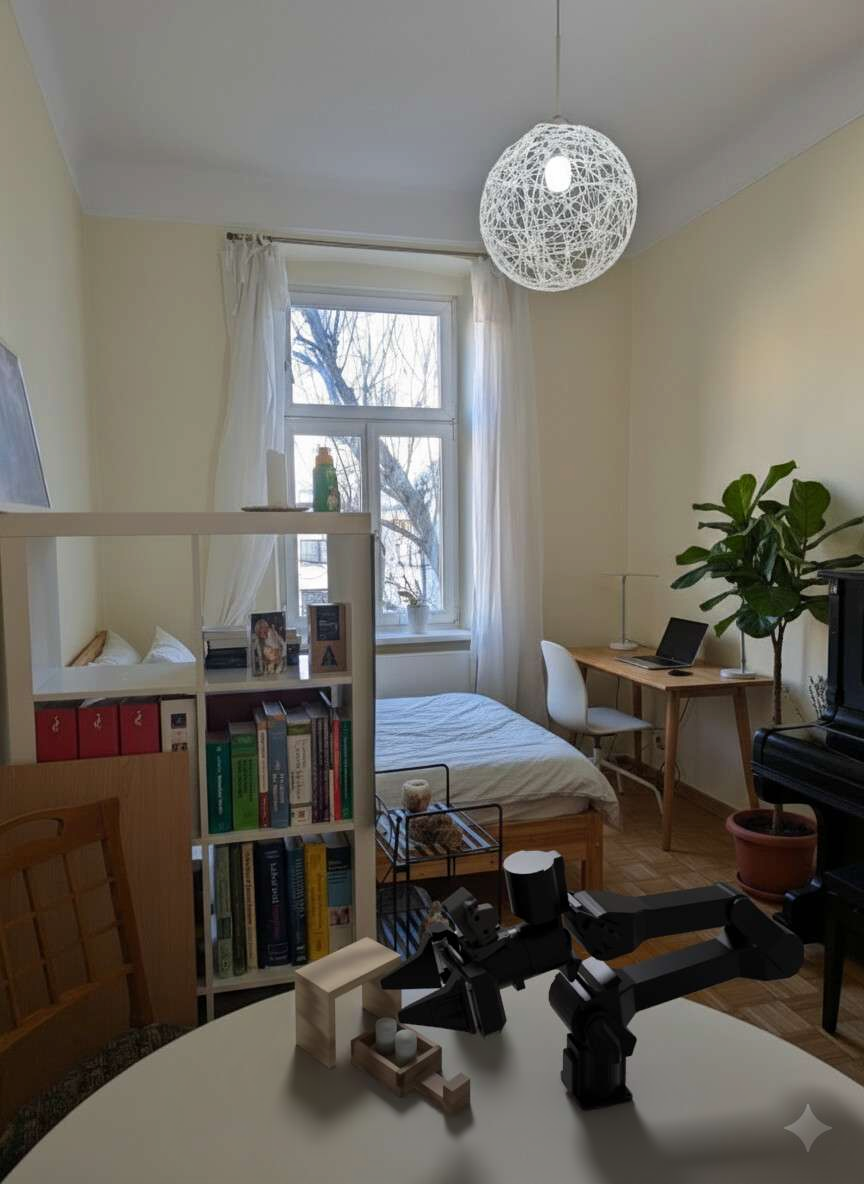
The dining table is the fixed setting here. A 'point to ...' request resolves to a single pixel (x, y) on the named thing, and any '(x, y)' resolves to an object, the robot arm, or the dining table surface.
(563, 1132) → the dining table surface
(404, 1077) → the wooden box with handle
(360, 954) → the shelf
